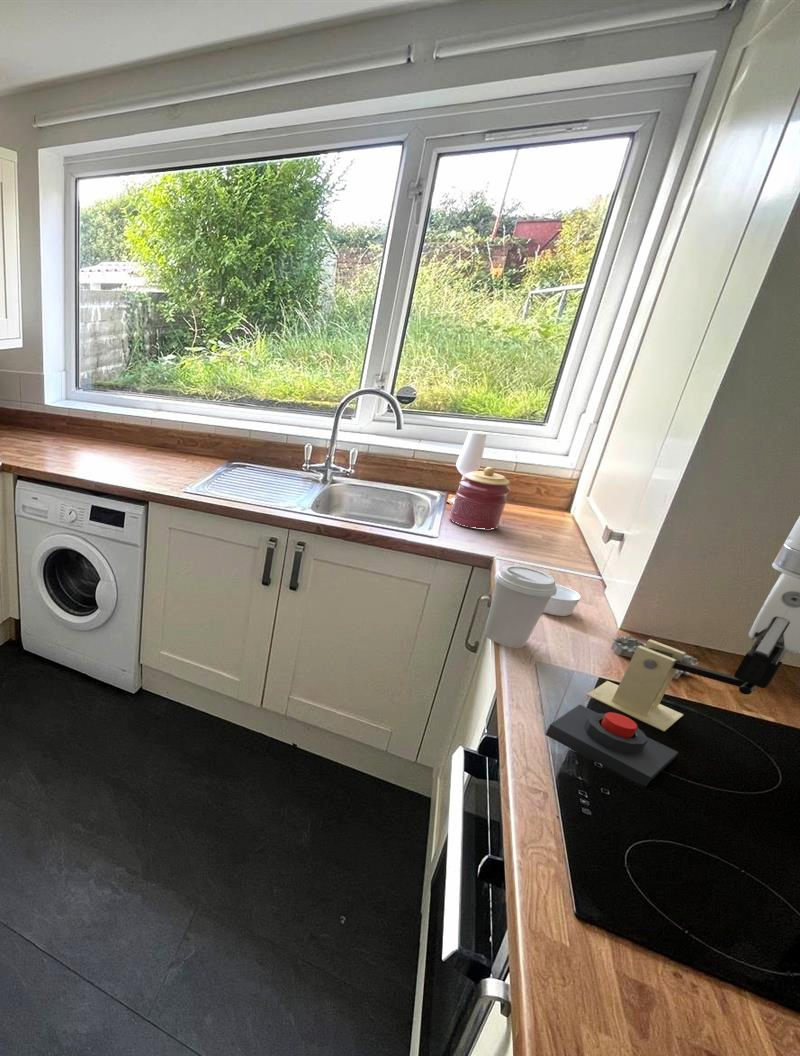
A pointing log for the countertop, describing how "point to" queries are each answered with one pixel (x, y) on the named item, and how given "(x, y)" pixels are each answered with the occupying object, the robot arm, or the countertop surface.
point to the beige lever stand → (644, 686)
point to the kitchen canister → (480, 499)
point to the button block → (611, 745)
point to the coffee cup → (517, 604)
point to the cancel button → (619, 725)
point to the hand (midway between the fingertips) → (750, 681)
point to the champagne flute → (471, 453)
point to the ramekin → (562, 601)
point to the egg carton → (630, 645)
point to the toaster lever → (711, 674)
